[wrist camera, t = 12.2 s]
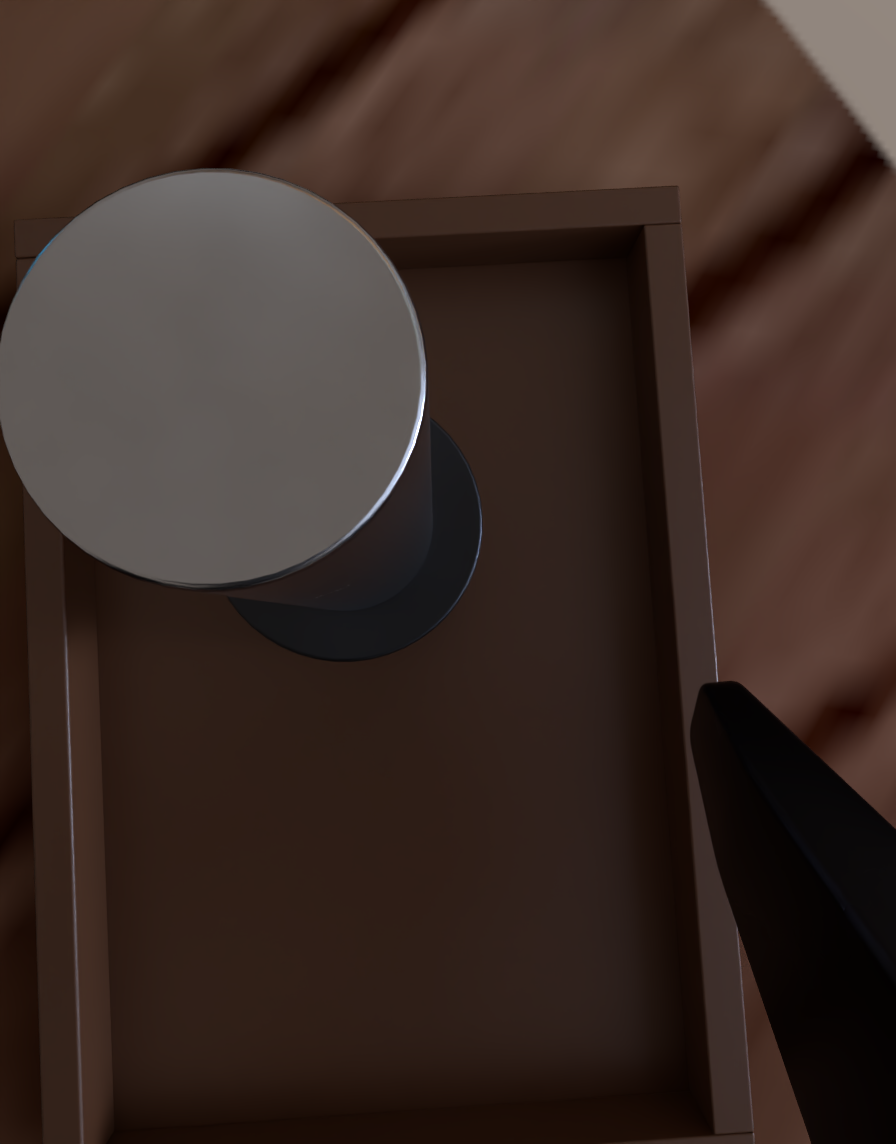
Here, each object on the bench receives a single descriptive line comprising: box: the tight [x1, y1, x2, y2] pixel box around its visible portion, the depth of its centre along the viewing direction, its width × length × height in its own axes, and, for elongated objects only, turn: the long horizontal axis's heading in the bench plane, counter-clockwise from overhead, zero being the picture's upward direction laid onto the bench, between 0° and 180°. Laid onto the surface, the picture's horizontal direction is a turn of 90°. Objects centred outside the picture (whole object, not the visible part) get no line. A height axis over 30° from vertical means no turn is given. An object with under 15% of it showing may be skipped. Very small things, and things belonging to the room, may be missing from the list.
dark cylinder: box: [0, 168, 483, 662], centre depth 12 cm, size 4×4×13 cm
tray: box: [14, 186, 755, 1144], centre depth 18 cm, size 20×14×2 cm
